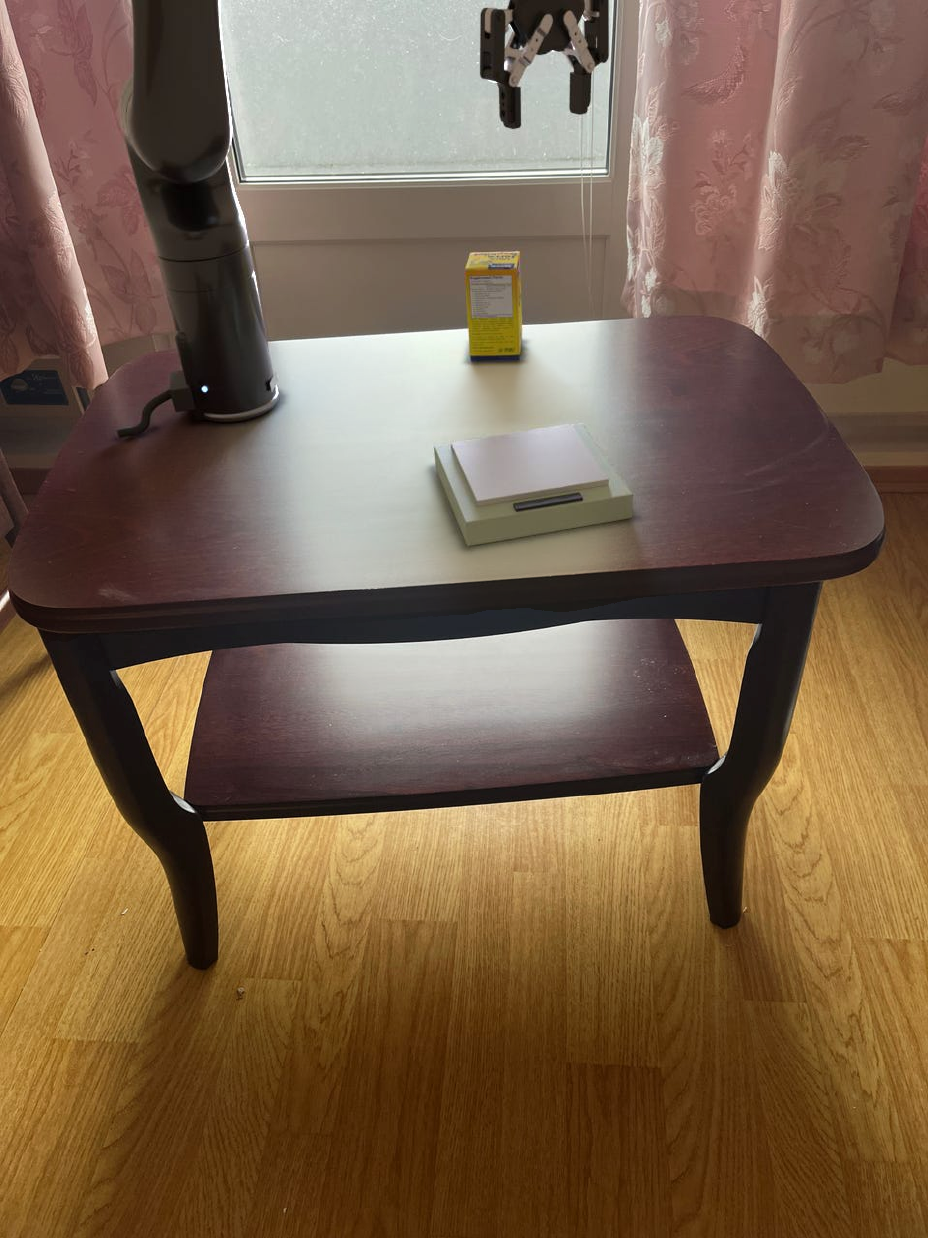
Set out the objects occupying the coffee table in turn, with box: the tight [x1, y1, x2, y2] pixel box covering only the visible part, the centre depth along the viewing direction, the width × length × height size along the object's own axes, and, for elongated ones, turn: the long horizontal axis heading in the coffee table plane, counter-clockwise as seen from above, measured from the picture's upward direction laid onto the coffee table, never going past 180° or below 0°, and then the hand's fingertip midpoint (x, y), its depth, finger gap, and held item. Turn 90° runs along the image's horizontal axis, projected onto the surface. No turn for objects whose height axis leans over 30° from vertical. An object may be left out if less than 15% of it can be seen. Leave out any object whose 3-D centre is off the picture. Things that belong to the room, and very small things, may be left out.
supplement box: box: [464, 251, 523, 362], centre depth 110 cm, size 6×6×11 cm
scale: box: [433, 422, 634, 547], centre depth 88 cm, size 15×14×3 cm
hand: (545, 120), depth 98 cm, fingers open, 8 cm apart
